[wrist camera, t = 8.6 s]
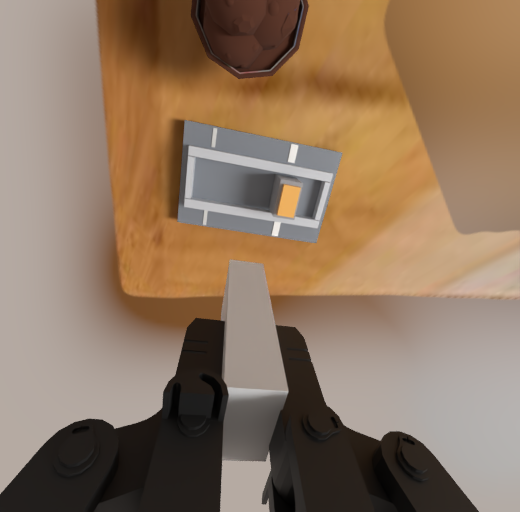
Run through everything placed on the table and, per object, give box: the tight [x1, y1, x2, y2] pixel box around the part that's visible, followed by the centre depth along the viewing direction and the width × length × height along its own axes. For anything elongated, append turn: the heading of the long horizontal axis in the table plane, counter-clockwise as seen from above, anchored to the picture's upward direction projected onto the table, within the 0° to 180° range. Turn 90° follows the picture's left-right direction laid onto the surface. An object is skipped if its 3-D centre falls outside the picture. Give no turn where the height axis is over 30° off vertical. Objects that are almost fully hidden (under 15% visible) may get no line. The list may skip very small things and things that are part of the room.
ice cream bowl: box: [191, 0, 309, 79], centre depth 27 cm, size 11×11×15 cm
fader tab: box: [269, 174, 303, 220], centre depth 38 cm, size 5×3×6 cm, turn 169°
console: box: [177, 120, 342, 243], centre depth 40 cm, size 14×22×4 cm, turn 79°
